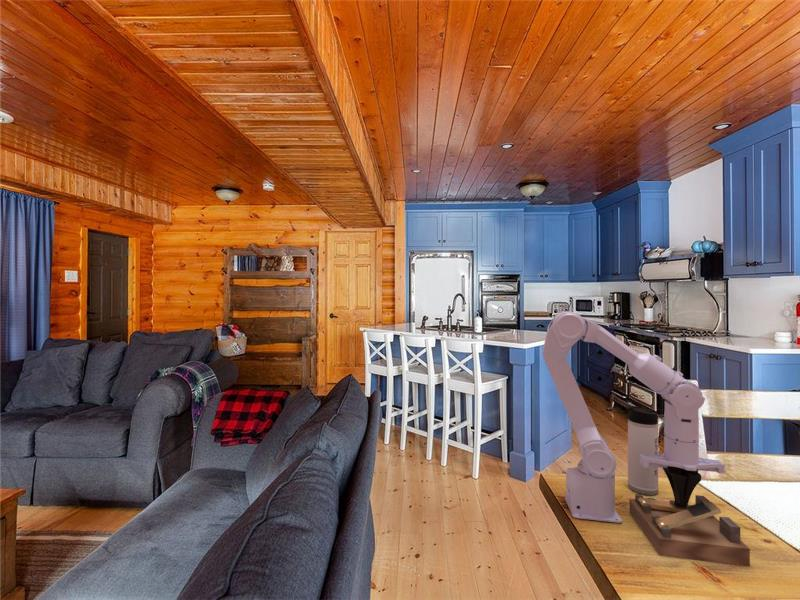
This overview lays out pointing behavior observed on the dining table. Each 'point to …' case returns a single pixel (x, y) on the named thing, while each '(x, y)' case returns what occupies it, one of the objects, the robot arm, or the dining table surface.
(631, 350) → the robot arm
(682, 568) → the dining table surface
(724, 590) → the dining table surface
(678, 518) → the near strap
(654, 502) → the far strap
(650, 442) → the travel mug
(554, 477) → the dining table surface
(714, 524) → the brown strap fixture board
